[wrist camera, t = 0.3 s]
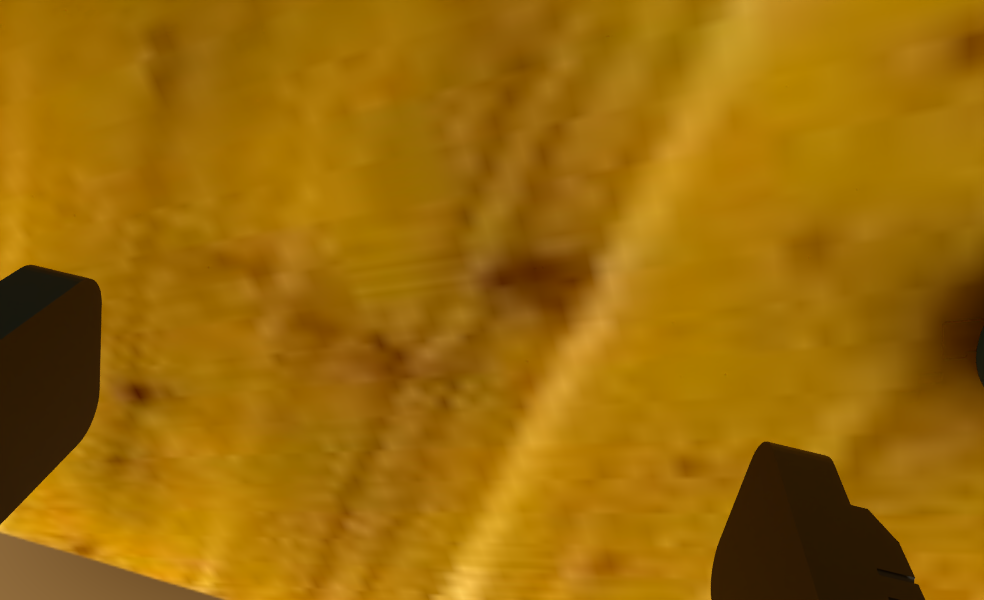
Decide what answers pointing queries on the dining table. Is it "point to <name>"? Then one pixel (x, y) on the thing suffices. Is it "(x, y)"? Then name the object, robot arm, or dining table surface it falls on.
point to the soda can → (980, 356)
